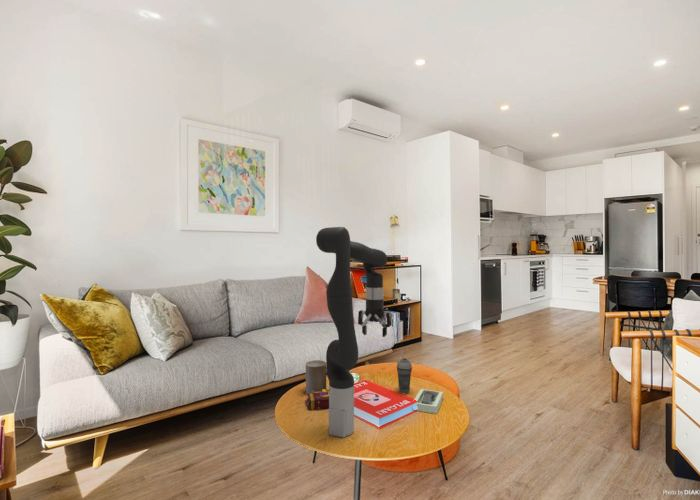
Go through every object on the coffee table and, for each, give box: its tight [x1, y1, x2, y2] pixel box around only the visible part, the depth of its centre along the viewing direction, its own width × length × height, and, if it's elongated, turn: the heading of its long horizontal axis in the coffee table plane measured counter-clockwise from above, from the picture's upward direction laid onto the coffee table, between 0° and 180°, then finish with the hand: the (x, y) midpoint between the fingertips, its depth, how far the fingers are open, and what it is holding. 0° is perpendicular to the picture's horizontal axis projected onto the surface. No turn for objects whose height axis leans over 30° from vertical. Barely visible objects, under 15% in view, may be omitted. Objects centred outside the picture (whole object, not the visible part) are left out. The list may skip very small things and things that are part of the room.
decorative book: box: [304, 388, 329, 411], centre depth 168 cm, size 11×16×5 cm
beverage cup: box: [396, 348, 413, 395], centre depth 182 cm, size 7×7×20 cm
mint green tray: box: [413, 388, 444, 415], centre depth 168 cm, size 17×10×3 cm, turn 158°
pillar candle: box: [305, 359, 327, 394], centre depth 181 cm, size 10×10×15 cm
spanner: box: [421, 389, 436, 405], centre depth 168 cm, size 13×4×3 cm, turn 158°
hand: (374, 335), depth 166 cm, fingers open, 8 cm apart
